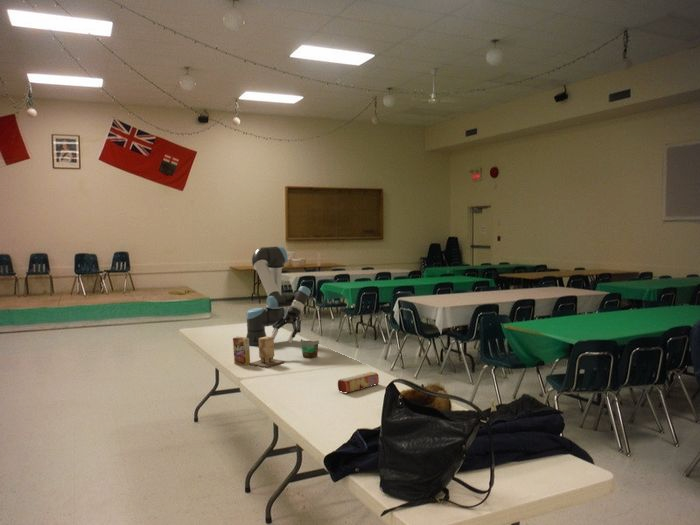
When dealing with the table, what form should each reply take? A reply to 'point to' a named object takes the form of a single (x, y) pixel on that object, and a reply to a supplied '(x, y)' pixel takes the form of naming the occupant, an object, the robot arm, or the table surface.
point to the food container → (309, 348)
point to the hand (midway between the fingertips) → (280, 340)
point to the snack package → (358, 382)
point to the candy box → (241, 350)
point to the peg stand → (267, 362)
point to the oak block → (266, 347)
